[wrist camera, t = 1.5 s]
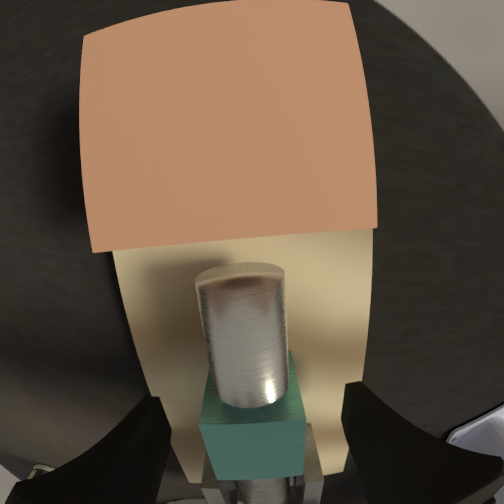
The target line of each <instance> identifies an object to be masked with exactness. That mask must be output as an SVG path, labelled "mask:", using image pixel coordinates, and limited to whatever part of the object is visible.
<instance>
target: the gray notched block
mask: <svg viewBox="0 0 504 504" xmlns="http://www.w3.org/2000/svg"><path fill="white" fill-rule="evenodd" d="M294 482H295V489H296V496H297V504H319V503H320V499H321V494H322V489H323V484H324V477H323V473H322V468H321V464H320V460H319V455H318V451H317V447H316V442H315V438H314V434H313V430H312V425H311V423H306V436H305V454H304V469H303V475H299V476H291V477H290V486H293V483H294ZM201 490H202V492H203V494H204V496H205V498H206V500H207V502H208V504H237V496H238V484H237V480H217V478H216V475H215V472H214V470H213V467H212V464H211V461H210V458H209V455H208V452H207V450H206V451H205V459H204V466H203V474H202V481H201Z"/></svg>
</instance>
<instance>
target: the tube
mask: <svg viewBox="0 0 504 504" xmlns="http://www.w3.org/2000/svg"><path fill="white" fill-rule="evenodd" d="M195 287H196V293H197V299H198V305H199V311H200V317H201V323H202V329H203V334H204V340H205V345H206V351H207V356H208V361H209V371H208V377H207V382H206V387H205V392H204V398H203V403H202V409H201V414H200V419H199V428H200V431H201V434H202V437H203V440H204V443H205V447H206V450H207V452H208V455H209V458H210V461H211V464H212V467H213V470H214V472H215V475H216V478H217V480H237V484H238V488H239V491H240V495H241V498H242V501H243V504H290V477H291V476H299V475H303V469H304V454H305V436H306V415H305V410H304V406H303V401H302V397H301V392H300V388H299V384H298V379H297V375H296V371H295V366H294V362H293V358H292V354H291V350H288V334H287V310H286V289H285V272H284V270H283V269H282V268H281V267H279V266H277V265H274V264H270V263H262V262H241V263H232V264H226V265H221V266H217V267H214V268H211V269H208V270H206V271H204V272H202V273H200V274H199V275H198V276H197V277H196V278H195Z"/></svg>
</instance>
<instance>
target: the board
mask: <svg viewBox="0 0 504 504" xmlns="http://www.w3.org/2000/svg"><path fill="white" fill-rule="evenodd" d="M372 244H373V228H368V229H354V230H340V231H327V232H314V233H301V234H289V235H277V236H265V237H253V238H241V239H230V240H219V241H208V242H197V243H186V244H176V245H165V246H155V247H145V248H135V249H125V250H115V251H113V257H114V262H115V267H116V272H117V277H118V281H119V286H120V290H121V295H122V299H123V303H124V307H125V311H126V315H127V319H128V323H129V326H130V330H131V334H132V337H133V341H134V344H135V347H136V351H137V354H138V357H139V360H140V364H141V367H142V370H143V373H144V376H145V379H146V382H147V385H148V387H149V390H150V393H151V396H157V397H160V400H161V402H162V405H163V408H164V411H165V413H166V416H167V419H168V421H169V424H170V426H171V429H172V433H171V442H170V443H171V445H172V448H173V450H174V452H175V454H176V456H177V458H178V461H179V463H180V465H181V467H182V469H183V471H184V473H185V475H186V477H187V479H188V481H189V483H201V481H202V474H203V466H204V459H205V451H206V447H205V443H204V440H203V437H202V434H201V431H200V428H199V419H200V414H201V409H202V403H203V398H204V392H205V387H206V382H207V377H208V371H209V361H208V356H207V351H206V345H205V340H204V334H203V329H202V323H201V317H200V311H199V305H198V299H197V293H196V287H195V278H196V277H197V276H198V275H199V274H200V273H202V272H204V271H206V270H208V269H211V268H214V267H217V266H221V265H226V264H232V263H241V262H262V263H270V264H274V265H277V266H279V267H281V268H282V269H283V270H284V272H285V289H286V310H287V334H288V350H291V354H292V358H293V362H294V366H295V371H296V375H297V379H298V384H299V388H300V392H301V397H302V401H303V406H304V410H305V415H306V423H311V425H312V430H313V434H314V438H315V442H316V447H317V451H318V455H319V460H320V464H321V468H322V473H323V475H329V474H334V473H339V472H343V469H344V465H345V461H346V457H347V453H348V449H349V446H348V444H347V441H346V438H345V434H344V430H343V426H342V422H341V412H342V405H343V398H344V390H345V384H346V383H351V382H356V381H361V382H362V375H363V368H364V361H365V352H366V344H367V334H368V324H369V312H370V298H371V280H372Z"/></svg>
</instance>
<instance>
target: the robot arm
mask: <svg viewBox="0 0 504 504" xmlns="http://www.w3.org/2000/svg"><path fill="white" fill-rule="evenodd" d="M341 422H342V426H343V430H344V434H345V438H346V441H347V444H348V446H349V449H350V451H351V454H352V456H353V459H354V461H355V464H356V466H357V469H358V471H359V474H360V476H361V479H362V482H363V485H364V488H365V492H366V496H367V500H368V504H504V404H503V405H501V406H500V407H498V408H496V409H494V410H492V411H491V412H489V413H487V414H485V415H483V416H481V417H479V418H477V419H475V420H473V421H471V422H469V423H467V424H465V425H463V426H461V427H459V428H456V429H455V430H453V431H452V432H451V433H450V435H449V437H448V439H447V440H446V442H445V441H443V440H440V439H438V438H436V437H434V436H432V435H430V434H428V433H427V432H425V431H423V430H421V429H420V428H418V427H416V426H415V425H413V424H412V423H410V422H409V421H407V420H406V419H405V418H403V417H402V416H401V415H399V414H398V413H397V412H395V411H394V410H393V409H392V408H390V407H389V406H388V405H387V404H386V403H384V402H383V401H382V400H381V399H380V398H379V397H378V396H376V395H375V394H374V393H373V392H372V391H371V390H370V389H369V388H368V387H367V386H365V385H364V384H363V383H362V382H361V381H356V382H351V383H346V384H345V390H344V398H343V405H342V412H341ZM171 433H172V429H171V426H170V424H169V421H168V419H167V416H166V413H165V411H164V408H163V405H162V402H161V400H160V397H157V396H145V397H144V398H143V399H142V400H141V401H140V402H139V403H138V404H137V405H136V406H135V407H134V408H133V409H132V410H131V411H130V412H129V414H128V415H127V416H126V417H125V418H124V419H123V420H122V421H121V422H120V423H119V424H118V425H117V426H116V427H115V428H114V429H113V430H111V431H110V432H109V433H108V434H107V435H106V436H105V437H104V438H102V439H101V440H100V441H99V442H98V443H97V444H95V445H94V446H93V447H91V448H90V449H89V450H87V451H86V452H84V453H83V454H82V455H80V456H78V457H77V458H75V459H73V460H72V461H70V462H68V463H66V464H65V465H63V466H61V467H59V468H57V469H55V470H52V471H50V472H48V473H45V474H43V475H40V476H37V477H34V478H30V479H27V480H23V481H20V482H16V484H15V485H14V487H13V489H12V491H11V492H10V494H9V496H8V498H7V500H6V502H5V504H156V499H157V494H158V490H159V486H160V483H161V479H162V475H163V472H164V468H165V465H166V461H167V457H168V453H169V449H170V442H171Z"/></svg>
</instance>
